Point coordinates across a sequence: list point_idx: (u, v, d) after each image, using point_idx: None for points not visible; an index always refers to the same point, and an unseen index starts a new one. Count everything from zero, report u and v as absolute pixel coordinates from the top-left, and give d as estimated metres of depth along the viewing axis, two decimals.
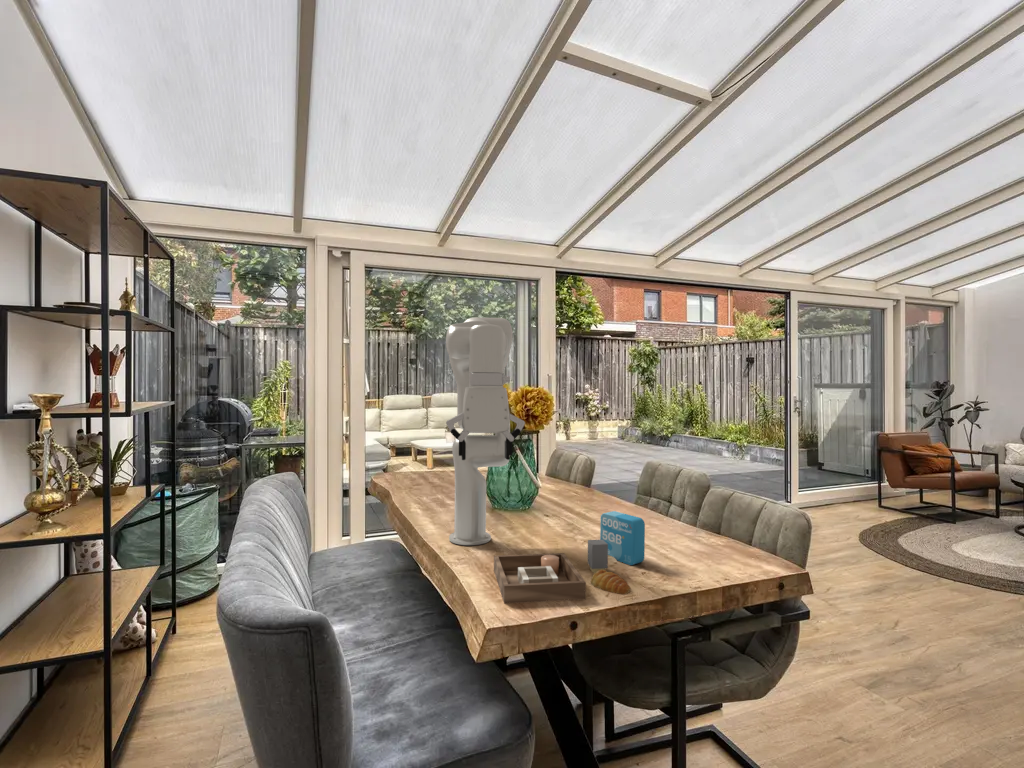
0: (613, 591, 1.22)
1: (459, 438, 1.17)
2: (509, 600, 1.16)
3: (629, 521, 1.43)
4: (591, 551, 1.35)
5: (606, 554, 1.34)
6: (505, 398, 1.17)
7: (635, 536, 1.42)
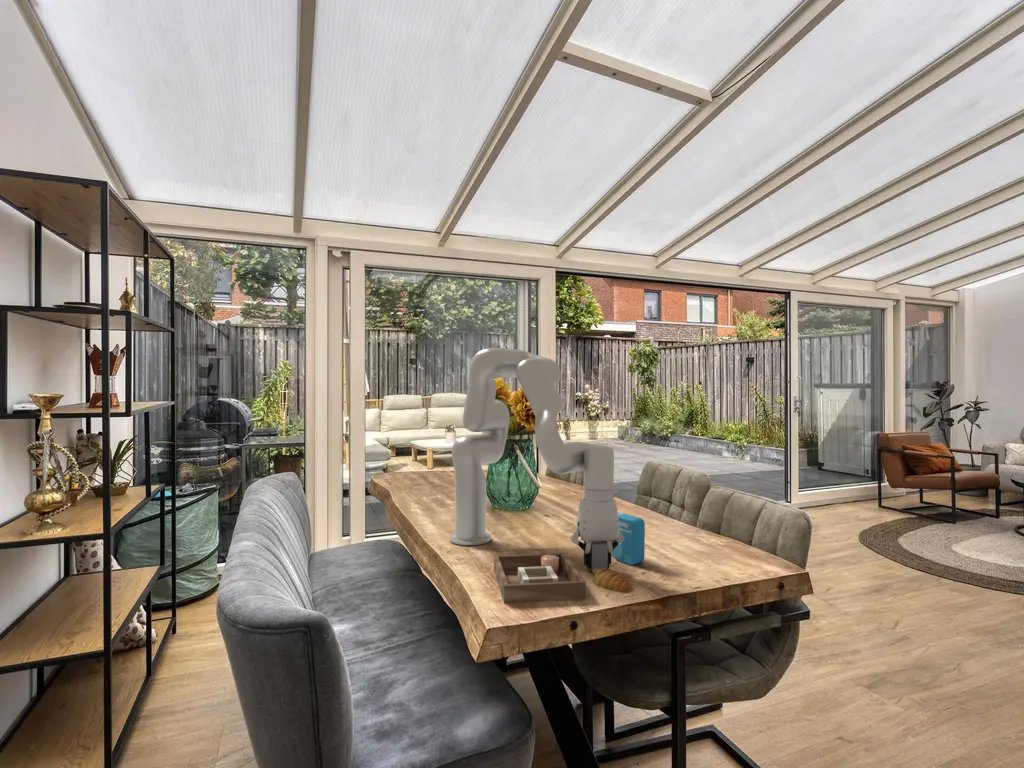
0: (616, 590, 1.23)
1: (586, 551, 1.34)
2: (509, 600, 1.16)
3: (629, 521, 1.43)
4: (591, 550, 1.35)
5: (606, 554, 1.34)
6: (616, 511, 1.35)
7: (635, 536, 1.42)
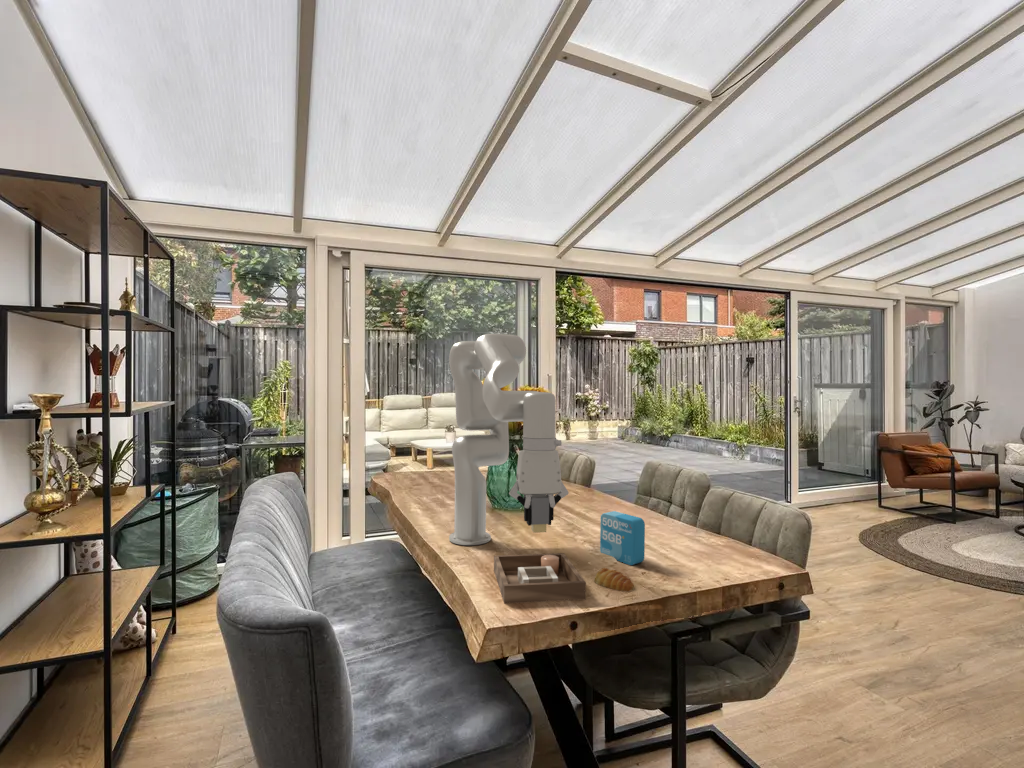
0: (618, 589, 1.24)
1: (525, 505, 1.24)
2: (509, 600, 1.16)
3: (629, 521, 1.43)
4: (531, 505, 1.24)
5: (547, 509, 1.24)
6: (558, 461, 1.24)
7: (635, 536, 1.42)
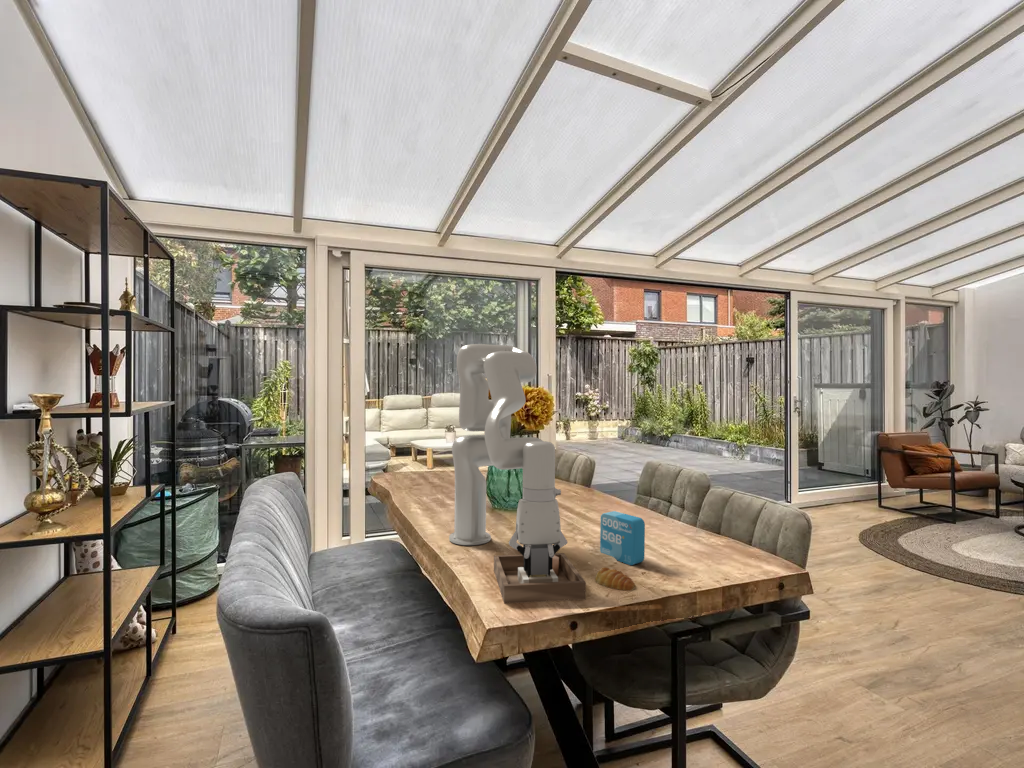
0: (619, 588, 1.24)
1: (525, 556, 1.24)
2: (509, 600, 1.16)
3: (629, 521, 1.43)
4: (530, 555, 1.24)
5: (546, 559, 1.24)
6: (557, 512, 1.24)
7: (635, 536, 1.42)
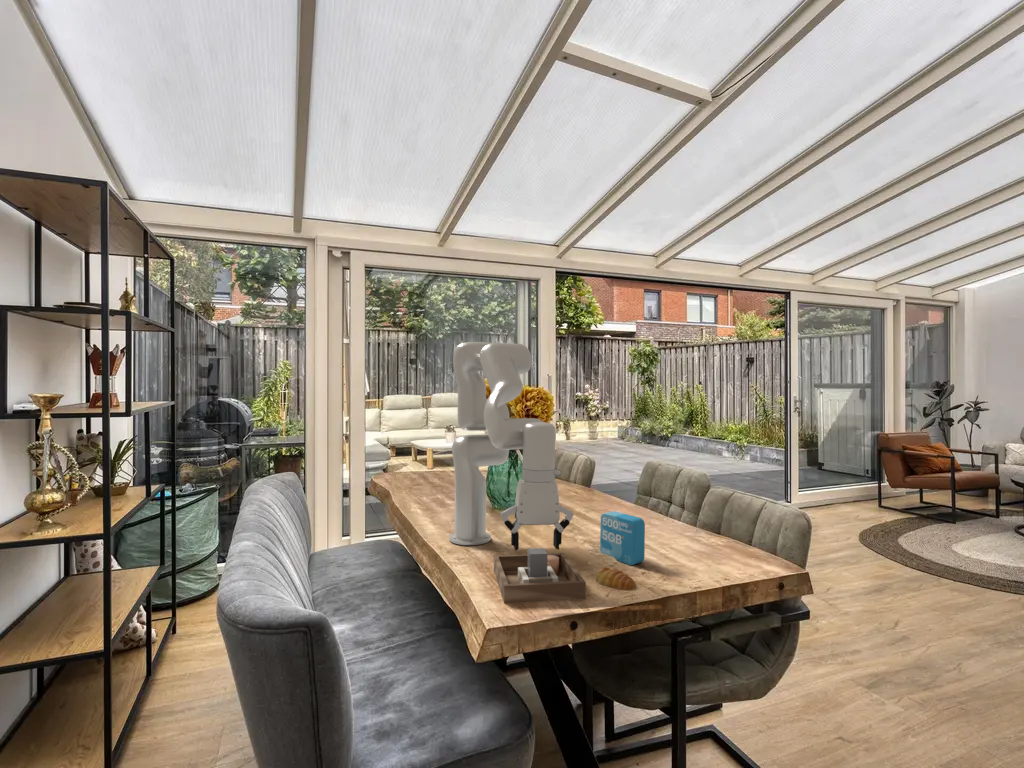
0: (620, 587, 1.24)
1: (513, 530, 1.24)
2: (509, 600, 1.16)
3: (629, 521, 1.43)
4: (529, 561, 1.24)
5: (545, 564, 1.24)
6: (556, 493, 1.24)
7: (635, 536, 1.42)
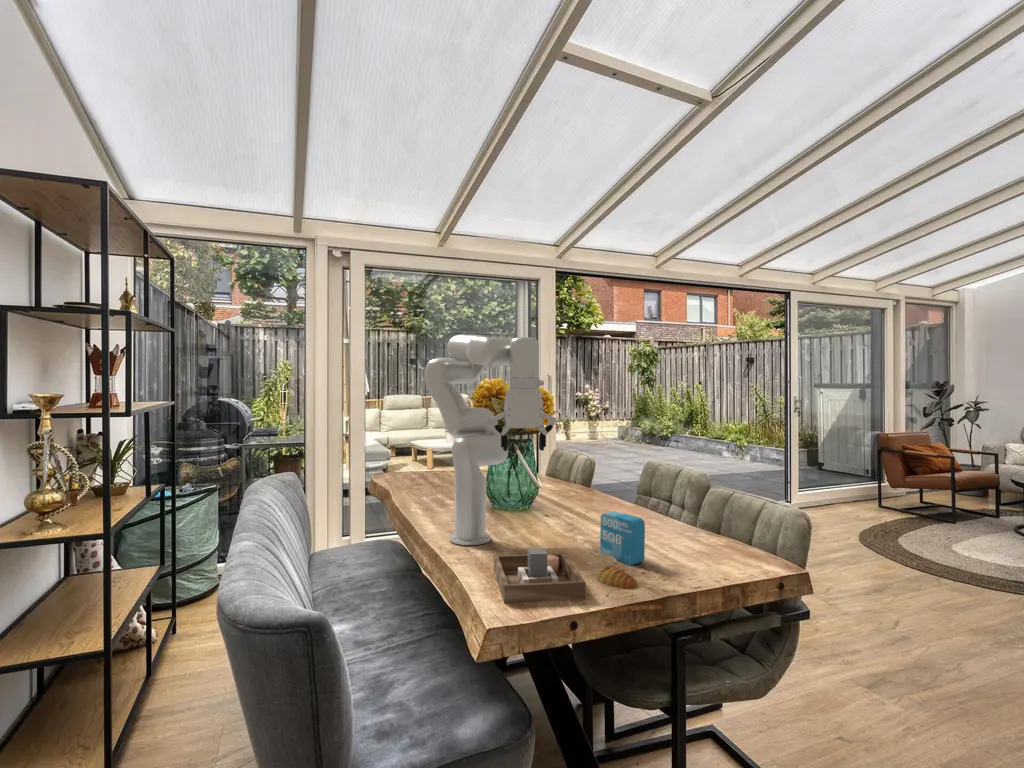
0: (622, 586, 1.25)
1: (502, 432, 1.39)
2: (509, 600, 1.16)
3: (629, 521, 1.43)
4: (529, 561, 1.24)
5: (545, 564, 1.24)
6: (540, 399, 1.40)
7: (635, 536, 1.42)
